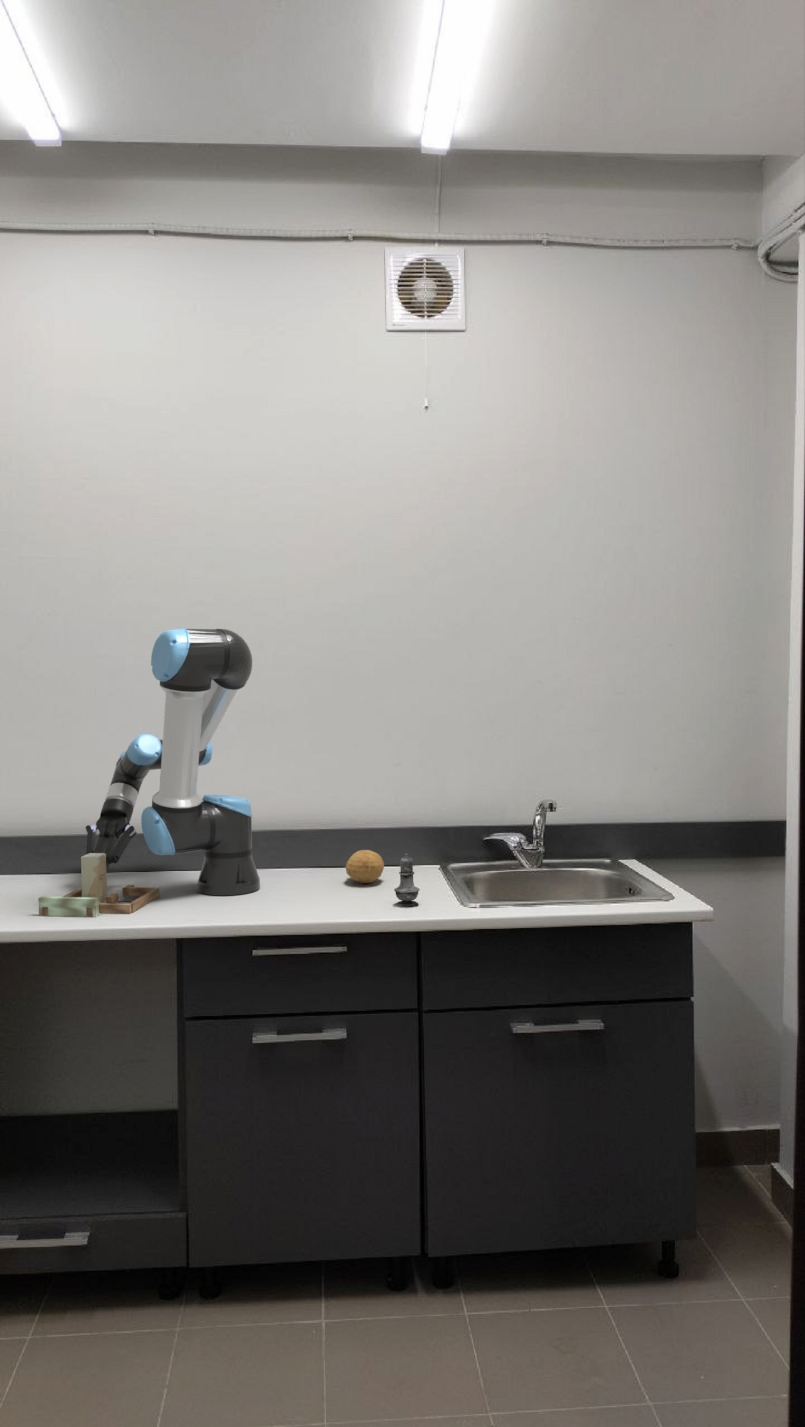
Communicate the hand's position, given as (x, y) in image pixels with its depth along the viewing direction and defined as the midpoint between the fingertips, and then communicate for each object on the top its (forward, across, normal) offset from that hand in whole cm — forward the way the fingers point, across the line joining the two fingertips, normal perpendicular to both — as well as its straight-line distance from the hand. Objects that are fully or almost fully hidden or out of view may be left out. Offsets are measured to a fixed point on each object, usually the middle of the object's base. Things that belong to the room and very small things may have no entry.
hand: (93, 886), depth 265 cm
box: (+5, -2, +1) cm, 5 cm away
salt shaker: (+2, -76, -3) cm, 76 cm away
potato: (-14, -62, -19) cm, 66 cm away
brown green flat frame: (+6, -6, +3) cm, 9 cm away
